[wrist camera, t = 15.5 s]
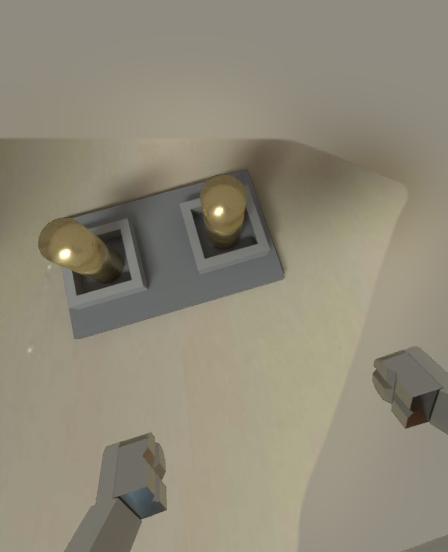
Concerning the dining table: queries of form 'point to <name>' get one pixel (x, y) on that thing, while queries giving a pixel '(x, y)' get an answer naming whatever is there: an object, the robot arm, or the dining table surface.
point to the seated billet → (80, 250)
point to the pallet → (168, 260)
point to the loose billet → (223, 210)
